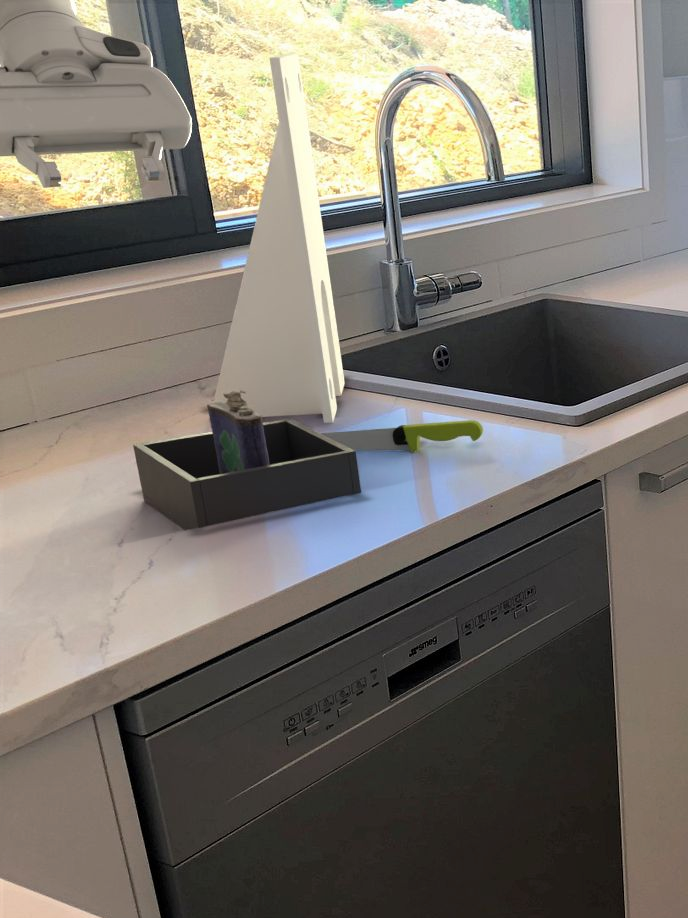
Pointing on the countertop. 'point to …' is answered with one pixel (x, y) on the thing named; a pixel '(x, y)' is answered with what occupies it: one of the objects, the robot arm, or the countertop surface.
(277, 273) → the white bracket plate
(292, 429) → the open dark grey box
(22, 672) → the countertop surface
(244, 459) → the flask
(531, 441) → the countertop surface
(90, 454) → the countertop surface
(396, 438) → the kitchen knife
